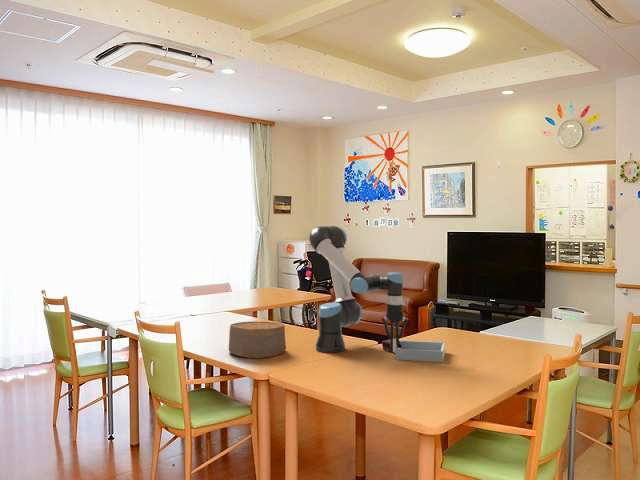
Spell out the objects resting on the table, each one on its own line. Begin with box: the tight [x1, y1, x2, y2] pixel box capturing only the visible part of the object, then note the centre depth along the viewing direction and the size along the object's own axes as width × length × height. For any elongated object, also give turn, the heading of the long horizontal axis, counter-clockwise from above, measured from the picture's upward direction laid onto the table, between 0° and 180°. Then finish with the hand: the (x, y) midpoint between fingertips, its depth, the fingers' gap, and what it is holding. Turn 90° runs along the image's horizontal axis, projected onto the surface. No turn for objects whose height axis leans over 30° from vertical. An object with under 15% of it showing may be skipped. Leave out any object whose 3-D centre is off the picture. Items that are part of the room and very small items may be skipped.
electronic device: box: [381, 338, 401, 353], centre depth 275 cm, size 4×10×8 cm
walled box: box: [394, 339, 446, 363], centre depth 264 cm, size 22×20×5 cm
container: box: [228, 321, 287, 359], centre depth 272 cm, size 28×28×15 cm
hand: (394, 351), depth 268 cm, fingers closed
